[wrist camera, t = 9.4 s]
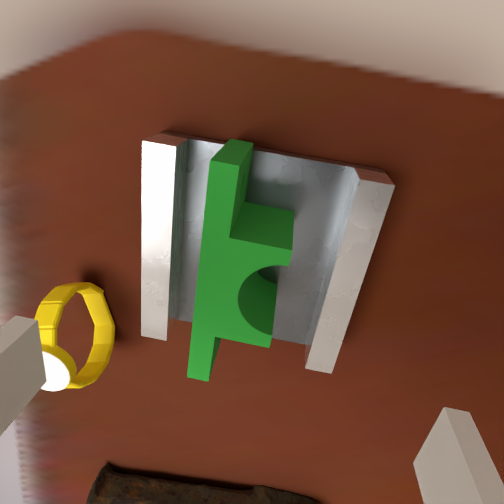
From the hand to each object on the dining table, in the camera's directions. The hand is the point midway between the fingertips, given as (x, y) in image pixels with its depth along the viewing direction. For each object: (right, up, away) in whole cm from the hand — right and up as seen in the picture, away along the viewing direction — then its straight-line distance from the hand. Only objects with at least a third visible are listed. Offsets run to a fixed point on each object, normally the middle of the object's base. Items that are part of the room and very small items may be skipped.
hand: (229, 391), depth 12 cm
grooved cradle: (+1, +5, +9) cm, 10 cm away
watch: (-9, +1, +12) cm, 16 cm away
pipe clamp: (+1, +5, +8) cm, 9 cm away
